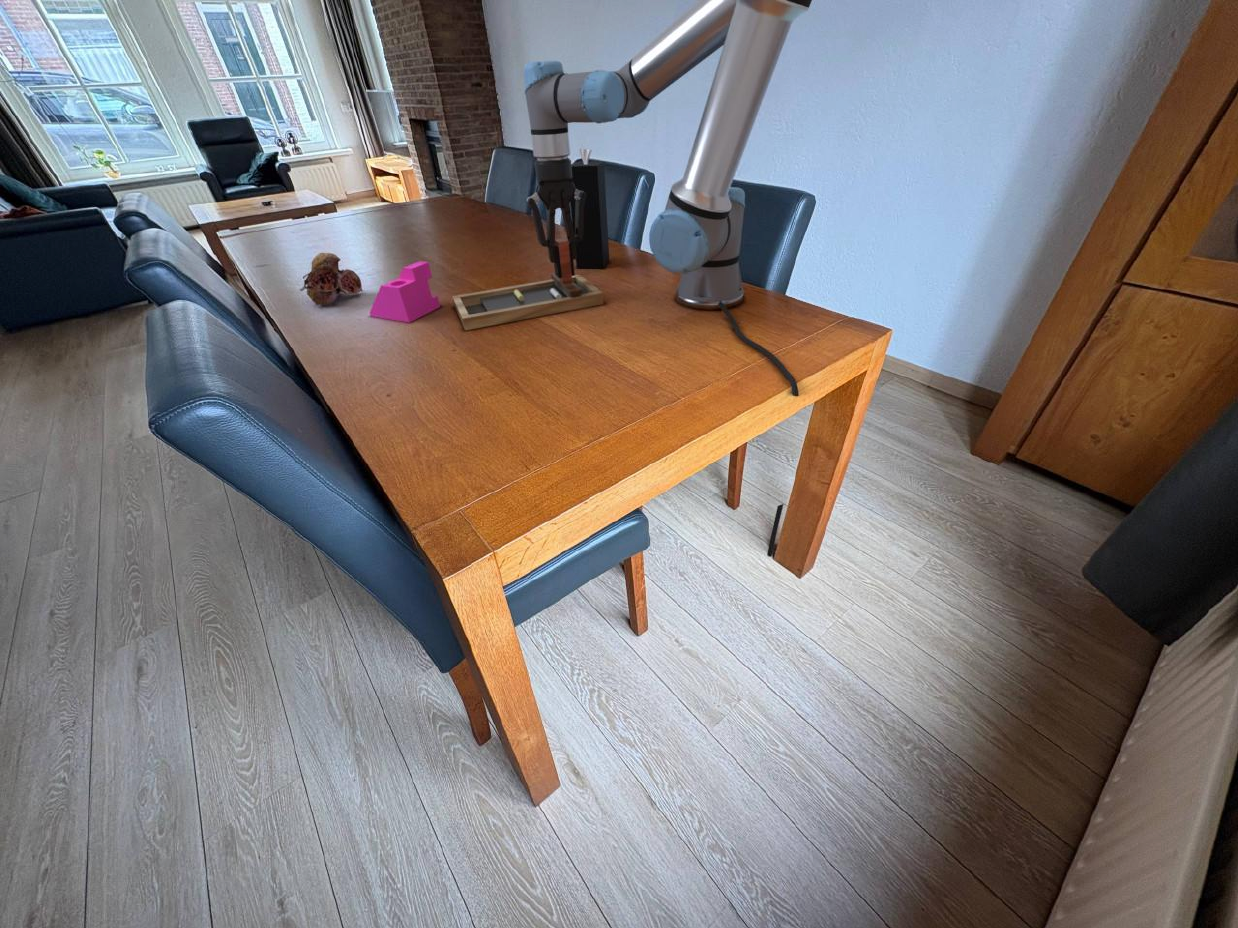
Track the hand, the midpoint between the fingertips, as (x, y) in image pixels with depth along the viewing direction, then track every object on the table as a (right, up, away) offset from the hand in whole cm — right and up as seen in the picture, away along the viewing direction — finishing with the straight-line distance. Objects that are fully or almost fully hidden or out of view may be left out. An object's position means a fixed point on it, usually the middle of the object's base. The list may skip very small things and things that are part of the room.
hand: (565, 275), depth 115 cm
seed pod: (-59, -3, +10) cm, 60 cm away
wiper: (0, -3, +2) cm, 4 cm away
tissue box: (+5, +12, +25) cm, 28 cm away
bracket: (-38, -8, +1) cm, 39 cm away
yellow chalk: (-11, -5, 0) cm, 12 cm away
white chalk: (-2, -5, 0) cm, 5 cm away
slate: (-9, -7, +1) cm, 11 cm away
